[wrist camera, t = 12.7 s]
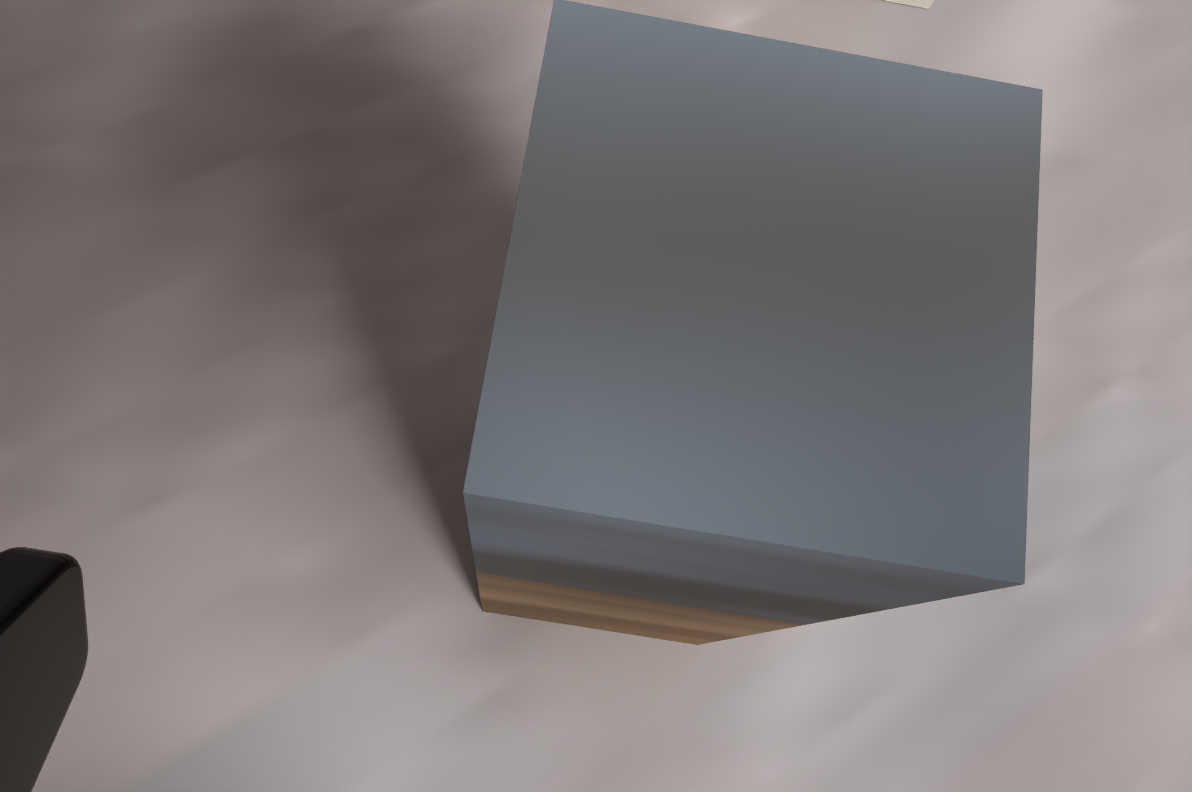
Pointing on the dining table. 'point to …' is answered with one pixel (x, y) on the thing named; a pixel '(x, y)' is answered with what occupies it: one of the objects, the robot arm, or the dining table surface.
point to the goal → (914, 2)
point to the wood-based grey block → (756, 336)
